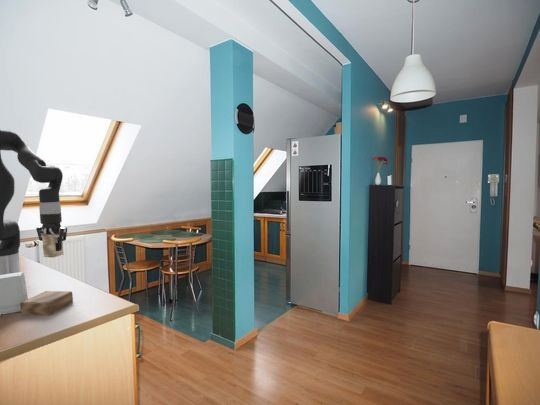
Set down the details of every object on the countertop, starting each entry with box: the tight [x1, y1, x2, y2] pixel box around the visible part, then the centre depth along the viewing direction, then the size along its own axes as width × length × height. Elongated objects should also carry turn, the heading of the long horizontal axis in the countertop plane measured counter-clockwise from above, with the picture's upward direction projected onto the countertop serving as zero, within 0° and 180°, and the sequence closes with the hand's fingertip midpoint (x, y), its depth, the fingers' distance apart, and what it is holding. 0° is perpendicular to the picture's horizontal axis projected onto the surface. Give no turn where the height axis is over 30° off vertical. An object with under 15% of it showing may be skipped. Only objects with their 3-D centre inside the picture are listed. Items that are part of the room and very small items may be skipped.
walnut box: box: [20, 290, 74, 316], centre depth 120 cm, size 12×12×5 cm
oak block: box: [41, 233, 65, 259], centre depth 130 cm, size 5×5×10 cm
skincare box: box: [0, 271, 29, 316], centre depth 118 cm, size 8×6×15 cm
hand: (53, 250), depth 130 cm, fingers closed on oak block, 5 cm apart
